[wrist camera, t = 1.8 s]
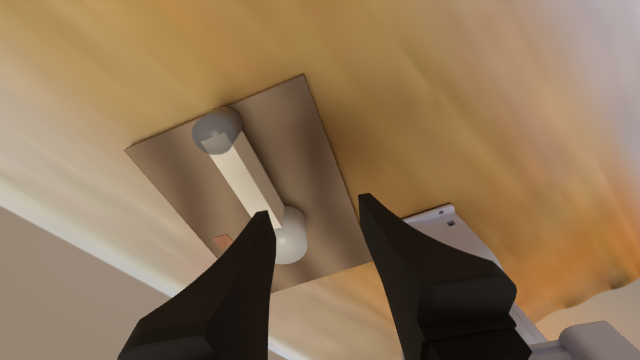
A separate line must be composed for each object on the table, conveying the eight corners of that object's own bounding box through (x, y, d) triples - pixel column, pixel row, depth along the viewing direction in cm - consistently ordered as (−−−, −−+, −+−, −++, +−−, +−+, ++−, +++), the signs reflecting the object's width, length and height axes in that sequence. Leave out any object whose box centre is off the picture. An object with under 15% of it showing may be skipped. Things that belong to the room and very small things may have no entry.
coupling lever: (312, 232, 25) (314, 255, 22) (274, 245, 25) (271, 269, 22) (242, 96, 18) (232, 106, 15) (190, 118, 18) (171, 131, 15)
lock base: (303, 73, 19) (303, 75, 18) (370, 253, 30) (373, 263, 28) (132, 144, 21) (120, 151, 19) (254, 290, 31) (252, 301, 30)
